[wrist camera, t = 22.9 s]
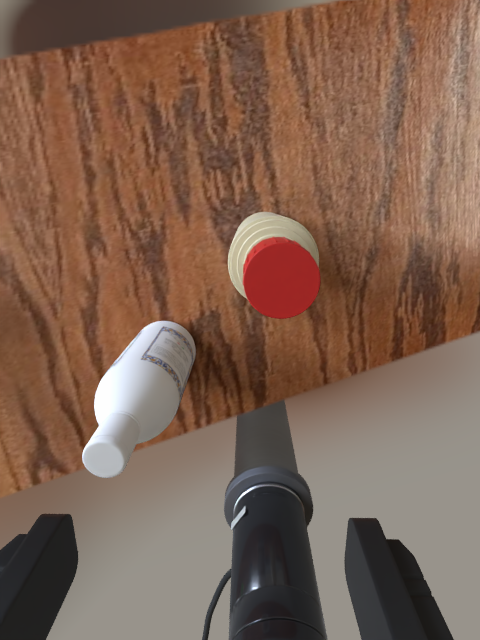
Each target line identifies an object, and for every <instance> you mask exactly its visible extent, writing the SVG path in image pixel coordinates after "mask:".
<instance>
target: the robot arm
mask: <svg viewBox="0 0 480 640" xmlns="http://www.w3.org/2000/svg"><path fill="white" fill-rule="evenodd" d="M233 517H234V520H233V522H232V523H231V529H232V528H233V527H234V528H233V548H232V568H231V569H230V570H229V571H227V573H226V574H225V575H224V576H223V578H222V579H221V581H220V583H219V585H218V587H217V589H216V591H215V593H214V596H213V598H212V601H211V603H210V605H209V608H208V611H207V614H206V619H205V624H204V631H203V637H202V640H208V636H209V630H210V623H211V618H212V614H213V612H214V609H215V607H216V604H217V602H218V600H219V597H220V595H221V593H222V591H223V589H224V587H225V585H226V583H227V582H228V580H229V579H230V578H231V595H230V618H229V619H230V622H229V623H230V624H229V640H327V635H326V629H325V624H324V618H323V614H322V608H321V603H320V598H319V592H318V587H317V582H316V576H315V570H314V565H313V559H312V554H311V549H310V543H309V538H308V532H307V526H306V521H305V512H304V506H303V502H302V500H301V498H300V496H299V495H298V494H297V492H296V491H295V490H293V489H292V488H290V487H289V486H287V485H285V484H282V483H278V482H271V481H266V482H259V483H256V484H253V485H251V486H249V487H247V488H246V489H244V490H243V491H242V492H241V493H240V494H239V495H238V497H237V499H236V501H235V503H234V510H233ZM77 564H78V551H77V545H76V539H75V533H74V527H73V520H72V517H71V515H70V514H42V515H40V516H39V518H38V519H37V520H36V522H35V524H34V525H33V526H32V528H31V530H30V531H29V532H28V534H19V535H18V536H16V537H15V538H14V539H13V540H12V541H11V542H9V543H8V544H7V545H6V546H5V547H3V548H2V549H1V550H0V640H46V638H47V636H48V634H49V632H50V629H51V627H52V625H53V623H54V621H55V619H56V616H57V614H58V612H59V610H60V608H61V606H62V603H63V601H64V599H65V597H66V595H67V593H68V590H69V588H70V586H71V584H72V582H73V579H74V577H75V574H76V569H77ZM345 574H346V581H347V585H348V589H349V593H350V597H351V601H352V604H353V608H354V612H355V615H356V619H357V623H358V627H359V631H360V635H361V639H362V640H454V639H453V637H452V635H451V633H450V631H449V629H448V627H447V625H446V622H445V620H444V618H443V616H442V614H441V612H440V610H439V608H438V606H437V603H436V601H435V599H434V597H432V595H431V591H430V589H429V587H428V585H427V582H426V580H424V578H423V574H422V572H421V570H420V568H419V565H418V564H417V561H416V559H415V557H414V556H413V555H412V553H411V552H410V551H409V550H408V549H407V548H406V547H405V546H404V545H403V544H402V543H401V542H400V541H399V540H392V539H386V538H385V535H384V533H383V530H382V528H381V526H380V524H379V521H378V520H377V519H376V518H350V519H349V521H348V529H347V540H346V550H345Z"/></svg>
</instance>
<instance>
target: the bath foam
mask: <svg viewBox="0 0 480 640" xmlns="http://www.w3.org/2000/svg"><path fill="white" fill-rule="evenodd" d="M195 355H196V348H195V344H194V340H193V338H192V336H191V335H190V333H189V332H188V331H187V330H186V329H185V328H184V327H182V326H181V325H179V324H177V323H174V322H170V321H158V322H154V323H151V324H149V325H147V326H146V327H145V328H143V329H142V330H141V332H140V333H139V334H138V335H137V336H136V337H135V338H134V340H133V341H132V342H131V343H130V344H129V346H128V347H127V348H126V349H125V350H124V352H123V353H122V354H121V355H120V356H119V358H118V359H117V360H116V361H115V362H114V363H113V365H112V366H111V367H110V368H109V369H108V371H107V372H106V373H105V374H104V376H103V378H102V380H101V381H100V383H99V386H98V388H97V391H96V395H95V402H94V409H95V415H96V419H97V422H98V424H99V427H98V428H97V430H96V431H95V433H94V434H93V436H92V437H91V439H90V440H89V442H88V443H87V445H86V447H85V448H84V451H83V455H82V459H83V463H84V465H85V467H86V468H87V469H88V470H89V471H90V472H91V473H92V474H94V475H96V476H98V477H103V478H110V477H114V476H117V475H118V474H120V473H121V472H122V471H123V470H124V469H125V467H126V465H127V463H128V461H129V459H130V457H131V454H132V452H133V450H134V448H135V446H136V444H139V443H143V442H146V441H148V440H151V439H152V438H154V437H156V436H157V435H159V434H160V433H161V432H163V431H164V430H165V429H166V428H167V426H168V425H169V424H170V423H171V421H172V420H173V418H174V416H175V415H176V413H177V410H178V408H179V405H180V402H181V399H182V396H183V393H184V390H185V387H186V384H187V381H188V378H189V375H190V372H191V369H192V366H193V363H194V360H195Z"/></svg>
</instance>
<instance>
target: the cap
mask: <svg viewBox="0 0 480 640" xmlns="http://www.w3.org/2000/svg"><path fill="white" fill-rule="evenodd" d="M243 274H244V275H243V285H244V291H245V294H246V297H247V299H248V300H249V302H250V304H251V305H252V306H253V307H254V308H255V309H256V310H257V311H259V312H260V313H262V314H264V315H266V316H268V317H272V318H278V319H284V318H290V317H294V316H296V315H298V314H300V313H302V312H304V311H305V310H306V309H307V308H308V307H309V306H310V305H311V304H312V303H313V302H314V300H315V298H316V296H317V294H318V292H319V288H320V271H319V268H318V265H317V263H316V261H315V260H314V258H313V257H312V256H311V254H310V252H309V251H307V250H306V249H305V248H303V247H301V245H300V244H298V243H297V242H296V241H295V240H293V241H292V240H290V239H288V238H285V237H274V236H273V237H272V238H268V239H265V240H262V241H261V242H259V243H258V244H256V245H255V246H253V248H252V249H251V251H250V252H249V254H247V258H246V260H245V264H243Z"/></svg>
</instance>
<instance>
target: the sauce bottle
mask: <svg viewBox="0 0 480 640" xmlns="http://www.w3.org/2000/svg"><path fill="white" fill-rule="evenodd" d="M273 236H274V237H285V238H288V239H290V240H292V241H293V240H295V241H296V242H297V243H298V244H300V245H301V247H303V248H305V249H306V250H307V251H309V252H310V254H311V256H312V257H313V258H314V260H315V261H316V263H317V265H318V268H319V253H318V248H317V245H316V243H315V240H314V239H313V237H312V235H311V234H310V233H309V231H308V230H307V229H306V228H305V227H304V226H302V225H301V224H300V223H298V222H296V221H294V220H292V219H290V218H287V217H284V216H281V215H278V214H275V213H271V212H259V213H256V214H253V215H251V216H249V217H248V218H246V219H245V220H244V221H243V222H242V223H241V225H240V226H239V228H238V230H237V232H236V234H235V237H234V239H233V242H232V245H231V248H230V251H229V256H228V270H229V274H230V277H231V280H232V282H233V284H234V286H235V287H236V289H237V290H238V291H239V292H240V294H241V295H243V296H244V297H245V298H246V299H247V297H246V294H245V291H244V285H243V275H244V274H243V264H245V260H246V258H247V254H249V252H250V251H251V249H252V248H253V246H255V245H256V244H258V243H259V242H261V241H262V240H265V239H268V238H272V237H273Z"/></svg>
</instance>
